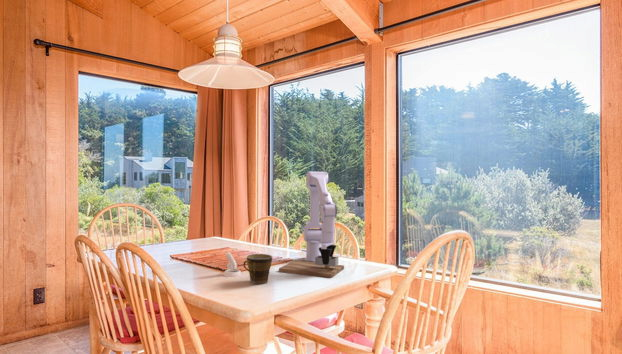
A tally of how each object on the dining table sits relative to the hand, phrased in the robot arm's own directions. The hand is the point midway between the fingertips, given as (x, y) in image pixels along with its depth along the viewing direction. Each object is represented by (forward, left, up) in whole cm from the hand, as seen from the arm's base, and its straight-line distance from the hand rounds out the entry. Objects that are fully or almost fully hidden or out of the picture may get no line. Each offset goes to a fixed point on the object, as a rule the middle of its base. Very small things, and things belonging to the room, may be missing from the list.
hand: (327, 262), depth 176 cm
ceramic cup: (+29, -19, -4) cm, 35 cm away
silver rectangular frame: (0, 0, 0) cm, 1 cm away
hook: (+22, -34, -4) cm, 41 cm away
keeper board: (0, -7, -4) cm, 8 cm away
